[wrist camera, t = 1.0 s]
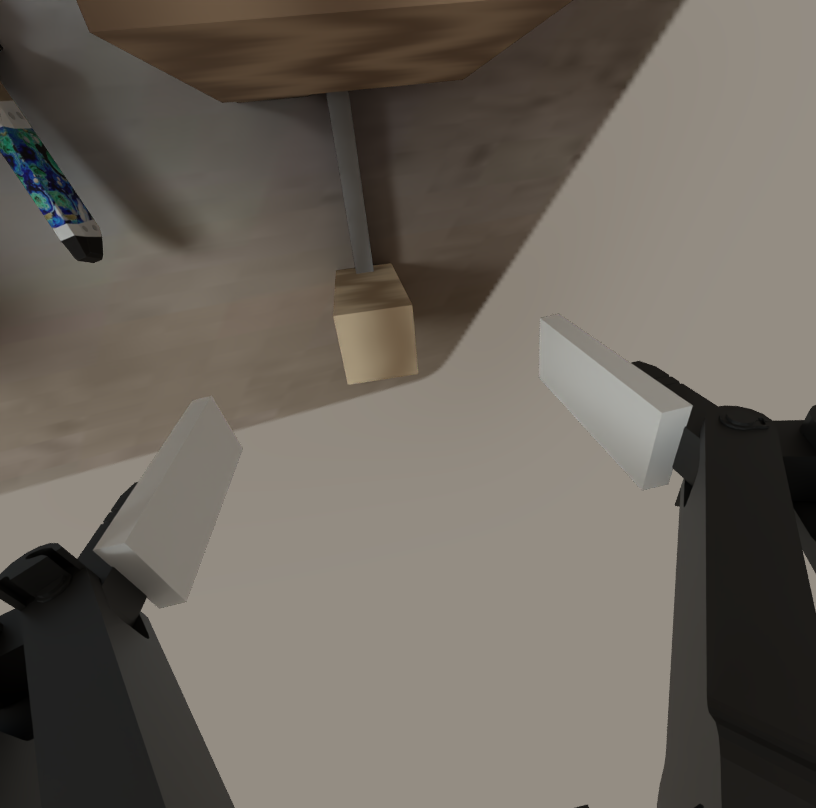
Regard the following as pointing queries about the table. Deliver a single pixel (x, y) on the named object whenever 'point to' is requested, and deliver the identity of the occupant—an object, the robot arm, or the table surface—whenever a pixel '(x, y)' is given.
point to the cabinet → (313, 41)
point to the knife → (47, 183)
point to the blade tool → (367, 279)
